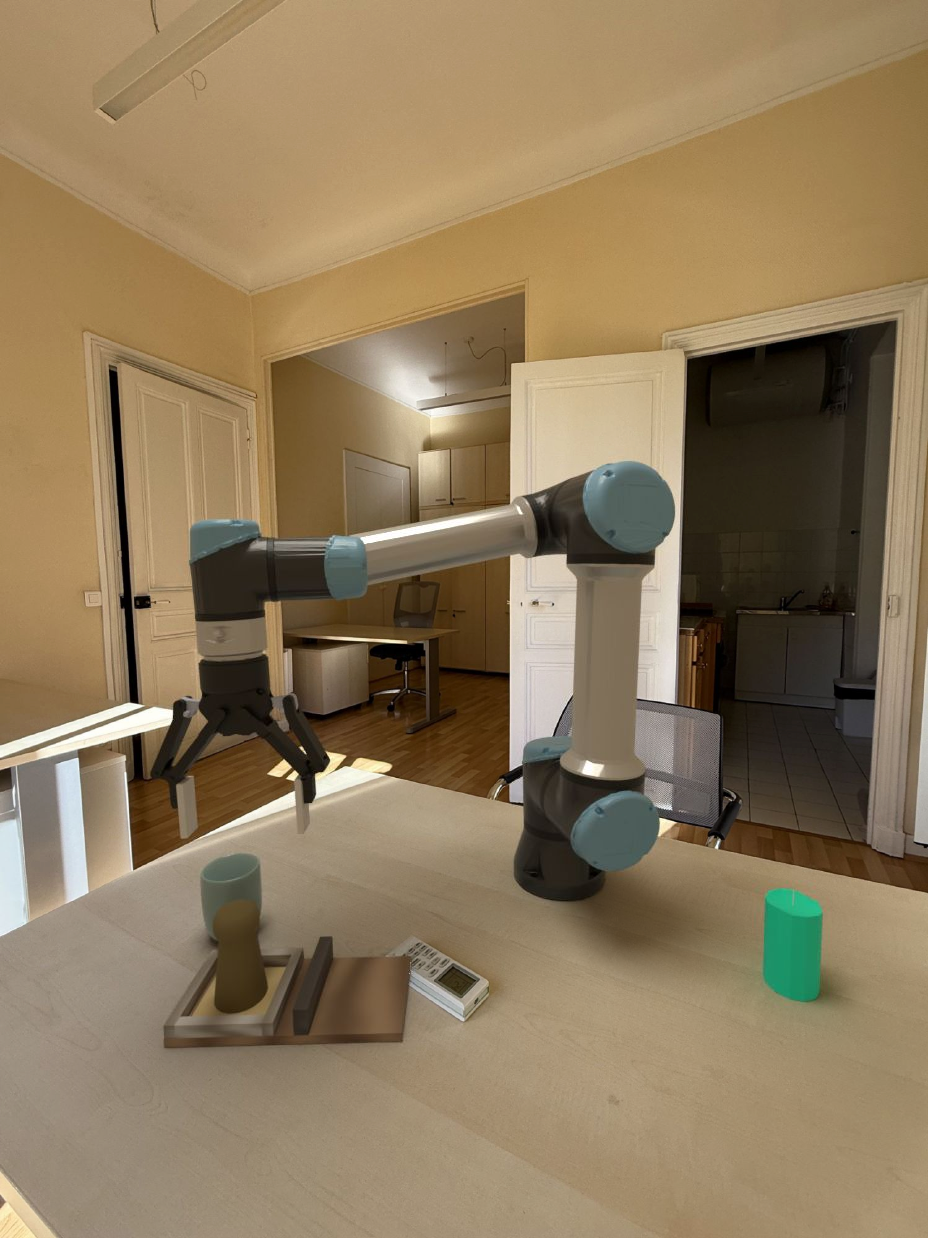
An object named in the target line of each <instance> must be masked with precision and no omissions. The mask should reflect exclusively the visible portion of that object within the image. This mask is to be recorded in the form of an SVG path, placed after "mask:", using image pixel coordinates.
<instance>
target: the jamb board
mask: <svg viewBox="0 0 928 1238" xmlns="http://www.w3.org/2000/svg"><path fill="white" fill-rule="evenodd" d="M333 939H334V938H333V936H332V935H331V936H327V935H326V936H322V935H321V936H320V937H319V938H318V940H317V941H318V942H317V944H316V947H315V949H314V952H313V954H312V957H311V958H310V957H309V958H307V957H306V958H304V957H305V955H304V954H305V953H304V952H305V951H304V947H295V948H294V947H292V948H286V947H285V948H260V951H261V955H262V960H263V964H264V969H265V974H266V978H267V983H268V990H267V993H266V995H265V996H264V998H263V999H262V1000H261V1001H260V1002H259V1003H258V1004H256V1005H255V1006H254V1007H252V1008H250V1009H248V1010H246V1011H243V1012H240V1013H234V1014H227V1013H222V1012H220V1011H219V1010H217V1009H216V1007H215V1005H214V997H215V984H216V970H217V957H218V949H216V950H215V949H213V950H211V952H209V954H208V956H207V958H206V960H204V962H203V964H202V966H200V969H199V970H198V971H197V973H196V974H195V976H194V978H193V979H192V981H191V982H190V984H189V985H188V987H187V989H186V990H185V992H184V993H183V995H182V996H181V998H180V999H179V1000H178V1002H177V1004H176V1006H175V1007H174V1008H173V1009H172V1012H171V1014H170V1015H169V1016H168V1018H166V1019H167V1020H166V1021H165V1022H164V1024H163V1025H162V1026H163V1027H162V1029H163V1048H188V1047H189V1048H190V1047H191V1048H195V1047H227V1046H228V1047H231V1046H232V1047H234V1046H268V1045H269V1046H273V1045H277V1046H278V1045H301V1044H302V1045H305V1044H307V1045H310V1044H342V1043H343V1044H344V1043H345V1044H346V1043H347V1044H349V1043H350V1044H351V1043H380V1042H381V1043H385V1042H388V1043H389V1042H403V1035H404V1027H405V1020H406V1019H405V1018H406V1011H407V1004H408V993H409V988H410V978H411V971H410V962H411V963H412V955H392V956H390V955H389V956H385V955H384V956H353V957H352V956H351V957H334V944H333V942H334V941H333ZM409 973H410V974H409Z"/></svg>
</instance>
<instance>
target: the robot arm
mask: <svg viewBox="0 0 928 1238" xmlns="http://www.w3.org/2000/svg"><path fill="white" fill-rule="evenodd" d="M674 498H675V497H674V495H673V492H672V490H671V488H670V485H669V484H668V482H666V480H665V479H663V477H662V476H661V475H660V474H659V472H658V471H657V470H656V469H654V468H652V466H649V465H648V464H646V463H643V462H639V461H635V460H623V461H618V462H614V463H612V462H611V463H606V464H602V465H600V466H598V467H597V468H595V469H592V470H589V471H587V472H584V473H581V474H579V475H576V476H573V477H571V478H567V479H566V480H563V481H561V482H559V483H557V484H555V485H552V486H550V487H548V488H547V487H546V488H545V489H542V490H539V491H537V492H534V493H530V494H524V495H519V496H516V497H515V498H513V500H512V501H511V503H510V504H507V505H503V506H497V507H492V508H486V509H481V510H477V511H475V510H474V511H470V512H466V513H460V514H455V515H450V516H444V517H439V518H434V519H429V520H423V521H418V522H414V523H407V524H402V525H397V526H392V527H386V528H382V529H381V528H380V529H376V530H371V531H366V532H360V533H355V534H349V535H346V536H345V535H344V536H342V535H338V534H334V535H327V536H326V535H325V536H319V535H318V536H298V537H295V536H293V537H273V536H271V537H269V536H263V535H262V534H263V533H262V532H261V529H260V525H259V524H258V522H257V521H255V520H251V519H242V518H241V519H238V518H236V519H235V518H234V519H232V518H215V519H214V518H213V519H211V518H209V519H203V520H198V521H196V522H194V523H193V524H192V525H191V526H190V528H189V529H190V530H189V560H188V566H189V568H190V576H191V577H190V578H191V587H192V589H191V590H192V598H193V608H194V619H195V636H196V637H195V638H196V649H197V654H198V655H200V656H201V657H203V658H202V659H201V660H200V662H199V661H198V675H199V676H198V677H199V688H200V692H201V697H200V699H199V698H193V696H191V695H185V696H183V697H181V698H179V699H176V700H175V701H174V702H173V704H172V720H171V722H170V724H169V727H168V729H167V732H166V733H165V734H166V735H165V737H164V739H163V741H162V743H161V746H160V748H159V751H158V754H157V756H156V758H155V760H154V762H153V765H152V768H151V770H150V773H149V776H150V777H151V778H152V779H153V780H157V779H160V780H163V781H166V783H168V788H169V790H168V791H169V799H170V800H169V802H170V806H171V809H173V810H174V809H175V810H176V809H178V810H177V813H178V823H179V834H180V839H188V838H189V837H190V836H191V835H192V834H193V833H194V832H195V831H196V830H197V829H198V828H199V826H198V815H197V814H198V813H197V811H198V810H197V801H196V791H195V776H194V775H187V774H189V771H190V769H191V768H192V767H193V766H194V764H195V763H196V762H197V760H198V759H199V757H201V756H202V754H203V752H204V751H205V750H206V748H208V747H209V745H210V744H211V742H213V739H214V738H215V737H216V736H217V735H218V734H220V735H222V737H231V736H234V735H235V736H236V735H238V736H251V735H252V734H254V733H255V734H256V735H257V736H258V737H259V738H260V739H261V740H264V741H266V742H267V744H269V746H270V747H272V749H273V750H274V751H276V752H277V754H278V755H279V756H280V757H281V758H282V759H283V760H285V762H286V763H287V764H288V765H289V766H290V767H291V768H292V769H293V770H294V771H295V772H296V773H297V776H296V777H295V779H294V780H293V782H294V783H293V784H294V797H295V798H294V799H295V815H296V828H297V829H296V831H297V835H301V834H302V835H303V834H305V833H306V831H307V830H308V827H309V825H310V824H311V819H310V817H311V816H310V804H312V803H313V802H314V800H315V798H316V796H317V785H316V774H319V773H320V774H321V773H324V772H325V771H326V770H327V768H328V766H329V765H330V763H331V758H330V756H329V754H328V752H327V751H326V750H325V747H323V745H322V742H321V741H320V739H319V737H318V735H317V734H316V732H315V730H314V729H313V728H312V726H311V724H310V722H309V720H308V719H307V717H306V715H305V714H304V711H302V710H303V709H302V708H301V707H302V705H301V702H300V697H299V696H300V695H299V694H298V692H297V691H291V692H290V693H288V694H285V695H279V696H274V695H273V693H272V690H271V675H270V663H269V656H267V654H265V653H264V652H265V651H267V649H268V634H267V621H266V609H265V608H266V607H265V606H266V604H265V603H268V602H269V603H270V602H272V603H278V602H290V601H291V602H294V601H296V602H297V601H300V602H301V601H327V600H336V601H342V600H346V599H357V598H361V597H364V596H365V595H366V593H367V590H368V586H371V585H375V584H379V583H380V584H381V583H384V582H388V581H394V580H399V579H403V578H408V577H409V578H410V577H413V576H418V575H423V574H427V573H433V572H437V571H438V572H439V571H442V570H447V569H451V568H456V567H461V566H465V565H470V564H471V565H472V564H476V563H481V562H485V561H490V560H495V559H500V558H505V557H510V556H514V555H520V556H522V557H524V558H525V559H532V558H537V557H543V556H552V555H566V560H565V562H566V563H565V564H566V568H567V569H568V570H569V571H570V572H571V574H573V576H575V579H576V596H575V597H576V598H575V599H576V600H575V624H574V625H575V626H574V627H575V630H574V652H573V653H574V655H573V656H574V658H573V684H572V685H573V686H572V709H571V710H572V713H571V715H572V717H571V718H572V719H571V736H564V735H563V736H561V735H559V736H545V737H539V738H535V739H532V740H530V741H529V742H527V743H525V745H524V747H523V751H522V752H523V753H522V761H521V765H522V792H523V793H522V797H523V798H522V799H523V800H522V801H523V805H522V806H523V812H522V813H523V829H522V832H521V834H520V838H519V841H518V844H517V847H516V850H515V853H514V856H513V857H514V858H513V876H514V879H515V880H516V882H517V883H518V884H519V885H520V886H521V887H522V888H523V889H524V890H526V891H528V892H529V893H531V894H533V895H536V896H539V897H541V898H546V899H548V900H549V899H550V900H556V901H575V900H581V899H585V898H588V897H590V896H591V897H592V896H593V895H595V894H596V893H598V892H600V890H601V889H602V888H603V887H604V885H605V883H606V872H619V871H622V870H623V871H624V870H626V869H629V868H632V867H633V866H635V865H636V864H637V863H639V862H641V860H642V859H643V857H644V856H646V855H648V854H649V853H650V851H651V850H652V848H653V847H654V846H655V844H656V842H657V840H658V836H659V833H660V825H661V820H660V815H659V810H658V809H657V807H656V805H655V804H654V802H653V801H652V800H651V798H650V797H649V796H646V795H645V783H646V766H645V764H644V762H643V761H642V760H641V759H640V758H639V757H638V756H637V755H636V753H635V747H636V746H635V745H636V726H637V725H636V724H637V722H636V721H637V703H638V702H637V701H638V683H639V682H638V681H639V680H638V679H639V656H640V655H639V654H640V638H641V637H640V634H641V630H640V629H641V613H642V612H641V611H642V591H643V590H642V589H643V587H642V586H643V580H644V578H645V577H646V576H647V575H649V574H650V573H651V571H653V570H654V569H655V566H656V565H655V564H656V549H657V548H658V547H659V546H660V545H661V544H663V543H664V541H665V539H666V538H667V537H668V536H669V535H670V534H671V532H672V530H673V527H674V523H675V519H676V518H675V517H676V503H675V499H674ZM274 708H277V710H279V713H281V714H282V715H284V717H285V720H286V721H287V723H288V726H289V727H290V729H291V730H292V732H293V733H294V735H295V737H296V738H297V740H298V742H299V744H300V746H301V747H302V749H303V750H302V749H301V748H300V747H299V746H298V744H297V743H296V742H294V741H293V739H292V738H290V736H289V735H288V734H287V733H286V732H285V731H284V730H283V729H282V727H280V725H279V722H277V720H276V719H275V718H274V717H272V715H271V714H272V713H271V712H272V711H273V710H274ZM198 711H199V713H200V714H201V715H202V716H203V717H204V718H205V720H206V721H207V722H206V723H205V725H204V726H203V728H202V729H201V730H200V731H199V732H198V734H197V736H196V738H195V739H194V740H193V741H192V743H191V744H190V746H189V747H188V748H187V749H186V751H185V752H184V754H183V755H182V756H181V757H180V759H179V760H178V761H177V762H176V764H175V765H174V761H175V759H176V758H177V755H178V752H179V750H180V748H181V746H182V743H183V741H184V738H185V736H186V733H187V731H188V729H189V727H190V724H191V721H192V719H193V717H194V716H196V714H197V712H198ZM186 775H187V776H186Z"/></svg>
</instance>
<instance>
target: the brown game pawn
mask: <svg viewBox="0 0 928 1238" xmlns="http://www.w3.org/2000/svg"><path fill="white" fill-rule="evenodd" d="M260 917H261V914H260V912H259V909H258V907H257V906H256V904H255V903H254V902H252V901H250V900H236V901H232V902H230V903H227V904H226V905H224V906H222V907H221V908H220V909H219V910H218V911H217V913H216V915H215V917H214V919H213V933H214V935H215V937H216V939H217V940H218V941H217V942H218V948H217V950H218V957H217V970H216V984H215V997H214V1005H215V1007H216V1009H217V1010H219V1011H220V1012H222V1013H227V1014H234V1013H240V1012H243V1011H246V1010H248V1009H250V1008H252V1007H254V1006H255V1005H256V1004H258V1003H259V1002H260V1001H261V1000H262V999H263V998H264V996H265V995H266V993H267V990H268V983H267V978H266V974H265V969H264V964H263V960H262V955H261V951H260V949H261V947H260V942H259V938H258V933H257V929H258V927H259V925H260V921H261V920H260V919H261V918H260Z"/></svg>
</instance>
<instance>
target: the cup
mask: <svg viewBox="0 0 928 1238" xmlns="http://www.w3.org/2000/svg"><path fill="white" fill-rule="evenodd" d="M199 877H200V878H199V882H200V883H199V885H200V886H199V887H200V896H201V897H200V899H201V908H202V909H201V910H202V916H203V922H204V927H205V928H206V931H207V933H208V934H209V936H210V937H211V938H212V939H213V940H215V941H217V942H219V941H218V940H217V939H216V937H215V935H214V933H213V919H214V917H215V915H216V913H217V911H218V910H219V909H220V908H221V907H222V906H224V905H226V904H227V903H230V902H232V901H236V900H250V901H252V902H254V903H255V904H256V906H257V907H258V909H259V912H260V915H261V913H262V907H263V883H262V866H261V861H260V858H259V857H258V856H257V855H255V854H252V853H247V852H246V853H245V852H235V853H228V854H225V855H223V856H220V857H217V858H215V859H214V860H211V861H210V862H208V863H207V864H206V865H205V866H204V867H203V869H202V870H201V872H200V874H199Z"/></svg>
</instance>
